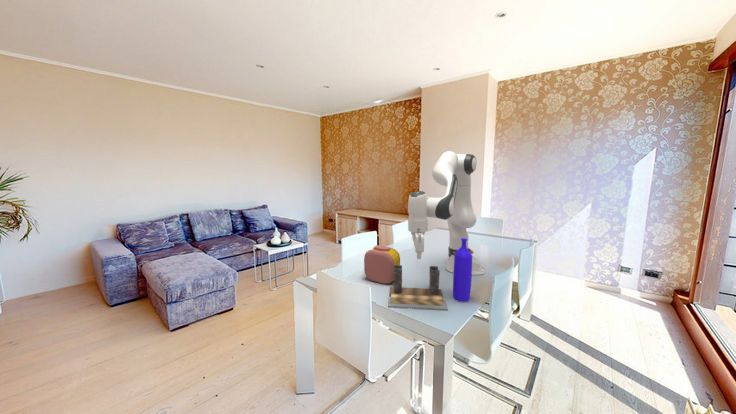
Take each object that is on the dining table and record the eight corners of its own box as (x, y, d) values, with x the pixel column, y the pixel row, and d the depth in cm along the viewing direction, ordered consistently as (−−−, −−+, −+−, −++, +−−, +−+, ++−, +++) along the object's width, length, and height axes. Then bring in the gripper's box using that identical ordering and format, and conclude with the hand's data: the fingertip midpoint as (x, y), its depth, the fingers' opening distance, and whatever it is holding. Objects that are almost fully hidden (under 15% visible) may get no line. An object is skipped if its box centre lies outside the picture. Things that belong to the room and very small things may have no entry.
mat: (445, 301, 131) (445, 300, 131) (447, 310, 123) (448, 308, 123) (388, 299, 134) (388, 297, 134) (387, 307, 126) (387, 305, 126)
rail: (442, 302, 129) (442, 296, 128) (443, 305, 126) (443, 299, 125) (391, 300, 131) (391, 294, 131) (391, 303, 128) (391, 297, 128)
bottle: (449, 294, 138) (452, 236, 134) (465, 294, 139) (468, 236, 134) (456, 302, 130) (459, 241, 125) (473, 302, 131) (476, 240, 126)
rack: (440, 291, 141) (441, 265, 139) (443, 299, 133) (444, 271, 131) (390, 289, 144) (390, 264, 142) (389, 296, 136) (389, 269, 134)
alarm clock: (400, 279, 157) (401, 246, 154) (392, 286, 147) (393, 252, 144) (372, 273, 166) (372, 242, 163) (363, 280, 156) (362, 247, 153)
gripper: (427, 232, 117) (427, 263, 119) (422, 222, 137) (422, 248, 139) (412, 232, 117) (412, 263, 119) (409, 222, 137) (410, 248, 139)
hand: (418, 255), depth 129 cm, fingers open, 8 cm apart
